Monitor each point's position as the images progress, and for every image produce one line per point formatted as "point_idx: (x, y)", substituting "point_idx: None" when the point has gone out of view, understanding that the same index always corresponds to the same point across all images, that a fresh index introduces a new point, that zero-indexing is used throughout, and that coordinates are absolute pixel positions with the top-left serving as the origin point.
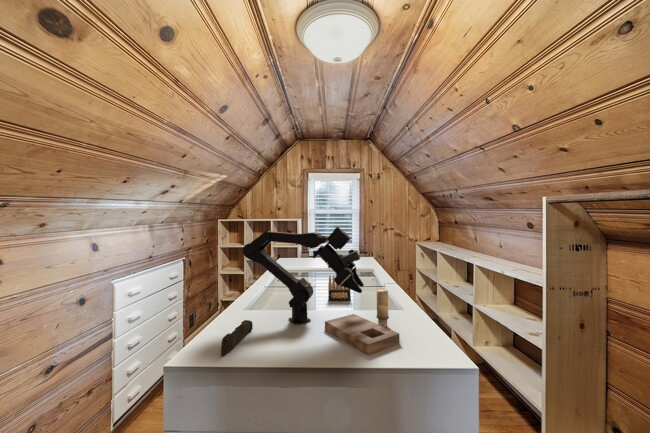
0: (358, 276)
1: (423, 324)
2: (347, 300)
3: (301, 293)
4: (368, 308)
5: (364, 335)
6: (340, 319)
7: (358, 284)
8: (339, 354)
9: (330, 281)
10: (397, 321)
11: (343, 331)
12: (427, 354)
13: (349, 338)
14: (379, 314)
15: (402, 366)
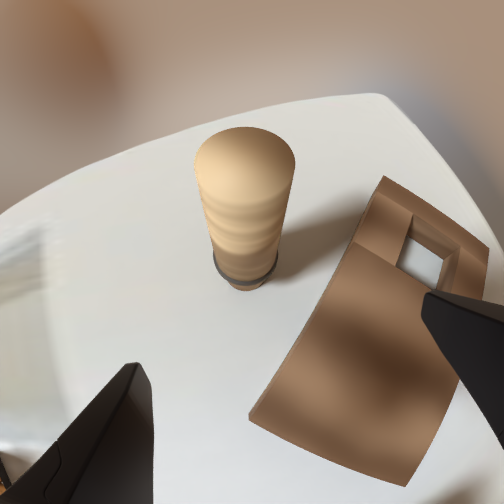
0: (60, 453)
1: (179, 147)
2: (1, 464)
3: None
4: (44, 372)
5: (459, 275)
6: (363, 445)
7: (149, 432)
8: None
9: None
10: (170, 224)
11: None
12: (386, 139)
13: None
14: (275, 256)
15: (460, 185)
